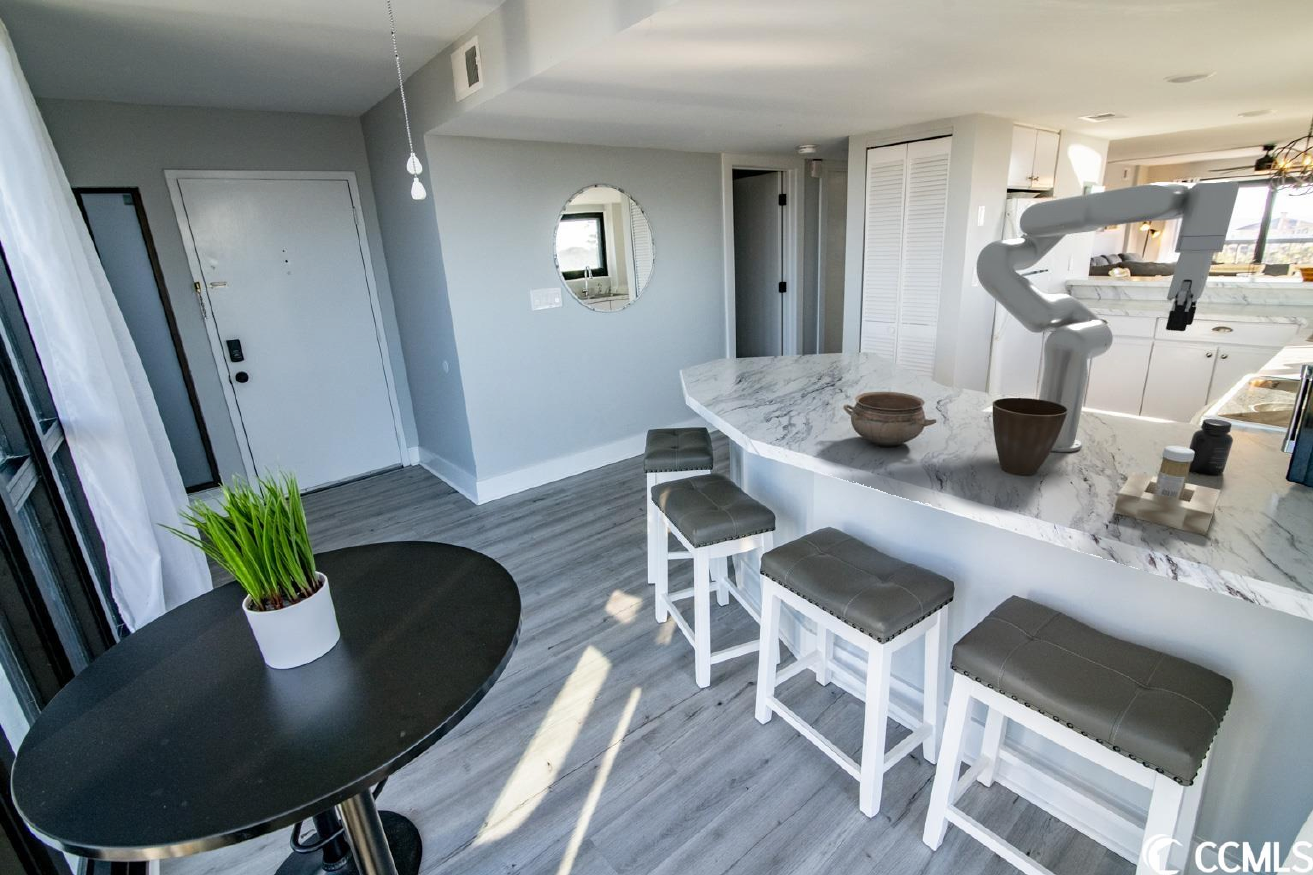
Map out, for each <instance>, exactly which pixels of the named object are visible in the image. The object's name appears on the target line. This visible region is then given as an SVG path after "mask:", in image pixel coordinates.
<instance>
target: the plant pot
mask: <svg viewBox="0 0 1313 875" xmlns="http://www.w3.org/2000/svg"><path fill="white" fill-rule="evenodd" d="M1067 413H1068V409H1067V408H1066V407H1065V406H1063V405H1060V404H1058V403H1054V402H1050V401H1045V400H1039V398H1038V399H1037V398H1030V397H1029V398H1028V397H1027V398H1026V397H1006V398H999V399H996V400H993V402H992V427H993V429H992V430H993V437H994V443H995V448H996V452H997V456H998V461H999V464H1000V468H1001V470H1003V471H1004V472H1006V473H1008V474H1012V475H1015V476H1033V475H1036V474H1037V473H1038V472H1039V470H1040V469H1041V467H1042V466H1043V464H1044V463H1045V461H1046V460H1047V458H1048V456H1049V455H1050V453H1051V452H1052V451H1051V450H1052V448H1053V446H1054V444H1055V442H1056V440H1057V438H1058V435H1059V433H1060V431H1061V428H1062V426H1063V423H1064V421H1065V418H1066V415H1067Z"/></svg>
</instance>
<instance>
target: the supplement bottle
mask: <svg viewBox="0 0 1313 875" xmlns="http://www.w3.org/2000/svg"><path fill="white" fill-rule="evenodd" d="M1231 428H1232V423H1231V422H1229V421H1227V420H1223V419H1216V418H1205V419H1203V420H1202V423H1201V426H1200V429H1199V430H1197V431H1195V432H1193V435H1192V437H1191V442H1190V444H1189V447H1188V448H1189V449H1191V450H1193V451H1194V452H1195V454H1194V458H1193V461H1192V462H1191V464H1190V468H1189V472H1191V473H1194V474H1196V475H1201V476H1202V475H1203V476H1207V477H1208V476H1209V477H1217V476H1221V475H1222V474H1223V473H1224V471H1225V468H1226V466H1227V465H1226V464H1227V461H1228V460H1229V455H1230V452H1231V449H1232V445H1233V443H1234V438H1233V437H1232V435H1230V434H1229V433H1230V432H1231V430H1232V429H1231Z"/></svg>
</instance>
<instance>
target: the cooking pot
mask: <svg viewBox="0 0 1313 875" xmlns="http://www.w3.org/2000/svg"><path fill="white" fill-rule="evenodd" d="M854 400H855V404H854V406H852V405H849V404H844V406H843V410H844V411H845V413H847V414H848V415H849V416H850V423H851V426H852V428H853V430H854V431H855V432H856V433H857V434H858V435H859V436H860V437H862V438H863V439H865V440H866V441H868V442H871V443H872V444H873V445H875V446H878V447H884V448H892V447H897V446H898V445H902V444H904V443H907V442H910V441H911V440H914V439H916V438H917V437H918V436H920V434H922V432H923V431H924V428H925V427H929V426H931V425H934V424H936V423H937V422H938V420H937V419H936V418H932V419H928V418H926V415H925V411H924V408H923V406H924V405H925V402H926V401H924V399H923V398H921V397H919V396H917V395H913V394H909V393H904V392H897V391H895V392H894V391H871V392H864V393H861V394H858V395H856V396H855V398H854Z"/></svg>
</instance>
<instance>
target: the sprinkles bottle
mask: <svg viewBox="0 0 1313 875" xmlns="http://www.w3.org/2000/svg"><path fill="white" fill-rule="evenodd" d="M1189 448H1190V447H1185V446H1180V445H1179V446H1178V445H1167V446H1165V447H1164V449H1163V452H1162V461H1161V465H1160V469H1159V471H1158V475H1157V477H1158V478H1157V482H1156V486H1155V490H1154V494H1155V495H1160V496H1164V497H1169V498H1174V499H1178V500H1181V499H1182V497H1183V493H1184V489H1185V483H1187V481H1188V476H1189V472H1190V471H1189V468H1190V464H1191V462H1192V461H1193V458H1194V454H1195V452H1194V451H1193V450H1191V449H1189Z"/></svg>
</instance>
